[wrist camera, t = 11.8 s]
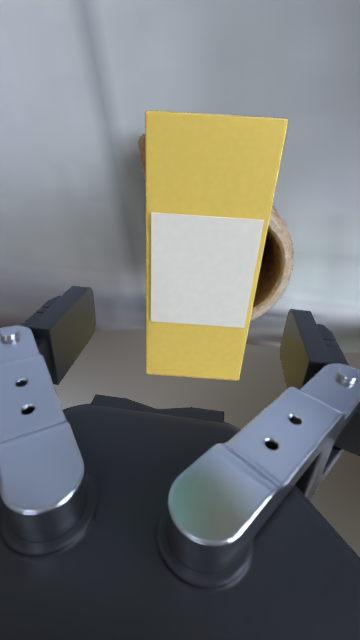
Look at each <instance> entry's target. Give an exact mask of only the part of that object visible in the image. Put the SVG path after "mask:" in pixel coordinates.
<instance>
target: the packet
mask: <svg viewBox="0 0 360 640" xmlns="http://www.w3.org/2000/svg"><path fill="white" fill-rule="evenodd" d="M287 126H288V120H287V119H280V118H270V117H253V116H237V115H220V114H203V113H186V112H170V111H146V112H145V168H146V372H147V374H156V375H170V376H183V377H196V378H209V379H223V380H236V381H238V380H239V376H240V371H241V366H242V361H243V355H244V350H245V345H246V340H247V334H248V329H249V324H250V319H251V314H252V308H253V303H254V298H255V293H256V288H257V282H258V277H259V272H260V267H261V261H262V256H263V251H264V246H265V241H266V235H267V230H268V225H269V220H270V214H271V209H272V204H273V199H274V194H275V188H276V183H277V178H278V173H279V167H280V162H281V157H282V152H283V147H284V141H285V136H286V131H287Z"/></svg>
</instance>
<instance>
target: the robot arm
mask: <svg viewBox="0 0 360 640" xmlns="http://www.w3.org/2000/svg"><path fill="white" fill-rule="evenodd" d="M95 323H96V321H95V308H94V296H93V290H92V288H90V287H80V286H72V287H71V288H69V289H68V290H67V291H66V292H65V293H64V294H63V295H62V296H57V297H55V298H53V299H51V300H49V301H47V302H46V303H45V304H44V305H43V306H42V308H40V309H39V310H37V311H36V313H34V314H33V315H32V316H31V317H30V318H29V319H27V320H26V321H25V322H24V323H23V324H22V325H21V326H8V327H3V328H0V640H360V557H359V556H358V555H357V554H356V553H355V552H354V551H353V549H352V548H351V547H350V546H349V545H348V544H347V543H346V542H345V540H343V538H342V537H341V536H340V535H339V534H338V533H337V531H336V530H335V529H334V528H333V527H332V526H331V525H330V524H329V522H327V520H326V519H325V518H324V517H323V516H322V515H321V514H320V512H319V511H318V510H317V509H316V508H315V507H314V506H313V504H312V503H311V502H310V501H311V499H312V497H313V495H314V494H315V492H316V490H317V488H318V487H319V485H320V484H321V482H322V481H323V479H324V478H325V477H326V475H327V474H328V472H329V471H330V469H331V468H332V467H333V465H334V463H335V462H336V461H337V459H338V458H339V456H340V455H341V454H342V452H343V450H346V451H348V452H351V453H354V454H356V455H358V456H360V371H359V370H358V369H356V368H354V367H351V366H349V365H348V363H347V361H346V359H345V357H344V355H343V353H342V351H341V349H340V348H339V345H338V343H337V342H336V339H335V337H334V335H333V333H332V332H331V331H330V330H328V329H327V328H326V327H325V326H324V325H320V324H316V322H315V320H314V318H313V316H312V314H311V312H310V311H303V310H294V309H290V310H289V312H288V316H287V320H286V324H285V328H284V333H283V337H282V341H281V346H280V360H281V364H282V369H283V373H284V378H285V382H286V387H287V389H286V390H285V391H284V392H283V393H282V394H281V395H280V396H279V397H277V398H276V399H275V400H274V401H273V402H272V403H271V404H270V405H268V406H267V407H266V408H265V409H264V410H263V411H262V412H260V413H259V414H258V415H257V416H256V417H255V418H254V419H253V420H251V421H250V422H249V423H248V424H247V425H246V426H245V427H243V428H242V429H239V428H237V427H235V426H233V425H231V424H229V423H226V422H224V412H222V411H214V410H207V409H200V408H192V407H191V408H174V409H173V408H172V409H155V408H152V407H149V406H146V405H143V404H141V403H137V402H135V401H132V400H129V399H125V398H117V397H110V396H103V395H95V397H94V399H93V401H92V403H91V404H83V405H77V406H73V407H70V408H67V409H64V410H62V407H61V404H60V401H59V398H58V396H57V393H56V390H55V387H54V384H56V385H58V384H59V383H60V381H61V380H62V379H63V377H64V376H65V374H66V373H67V372H68V370H69V368H70V367H71V365H72V364H73V363H74V361H75V360H76V359H77V357H78V356H79V354H80V353H81V351H82V350H83V348H84V347H85V346H86V344H87V343H88V341H89V340H90V338H91V337H92V335H93V333H94V330H95Z"/></svg>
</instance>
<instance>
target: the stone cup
mask: <svg viewBox="0 0 360 640" xmlns="http://www.w3.org/2000/svg"><path fill="white" fill-rule="evenodd" d="M138 143H139V151H140V157H141V162H142V169H143V175H144V180H145V185H146V168H145V134H143V135H142V136H140V137H139V140H138ZM293 254H294V252H293V244H292V240H291V237H290V234H289V231H288V229H287V227H286V225H285V223H284V221H283V219H282V218H281V217H280V215H279V214H278V212H277V211H276V209H275V208H274V206H273V205H272V209H271V214H270V220H269V225H268V230H267V235H266V241H265V246H264V251H263V256H262V261H261V267H260V272H259V277H258V282H257V288H256V293H255V298H254V303H253V308H252V314H251V319H250V322H251V321H253V320H255V319H257V318H259V317H260V316H262V315H264V314H265V313H266V312H267V311H268V310H269V309H270V308H271V307H273V306H274V305H275V303H276V302H277V301H278V300H279V299H280V297H281V296H282V294H283V293H284V291H285V290H286V288H287V286H288V283H289V280H290V277H291V274H292V270H293Z"/></svg>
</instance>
